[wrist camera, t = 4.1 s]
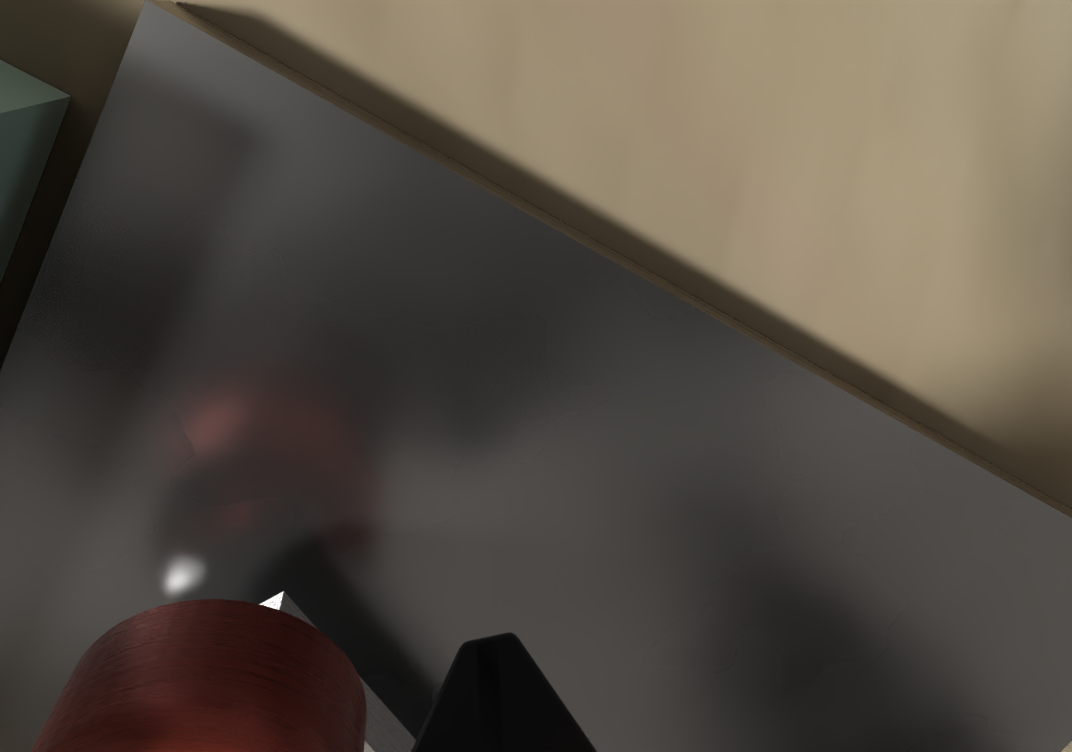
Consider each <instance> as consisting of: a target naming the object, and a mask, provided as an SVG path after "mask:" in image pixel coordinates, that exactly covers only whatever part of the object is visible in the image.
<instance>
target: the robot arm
mask: <svg viewBox="0 0 1072 752" xmlns="http://www.w3.org/2000/svg"><path fill="white" fill-rule="evenodd" d="M411 752H597V751H596V749H595V748H594V746H593V745H592V743H591V742H590V740H589V739H588V738H587V736H586V735H585V733H584V732H583V730H582V729H581V727H580V726H579V724H578V723H577V722H576V720H575V719H574V717H573V716H572V714H571V713H570V711H569V710H568V709H567V707H566V706H565V704H564V703H563V701H562V700H561V698H560V697H559V696H558V694H557V693H556V691H555V690H554V688H553V687H552V685H551V684H550V682H549V681H548V680H547V678H546V677H545V675H544V674H543V672H542V671H541V669H540V668H539V667H538V665H537V664H536V662H535V661H534V659H533V658H532V656H531V655H530V654H529V652H528V651H527V649H526V648H525V646H524V645H523V643H522V642H521V640H520V639H519V638H518V637H517V636H516V635H515V634H514V633H511V632H507V633H503V634H498V635H493V636H488V637H484V638H479V639H474V640H470V641H467V642H465V643H463V644H462V645H461V646H460V648H459V650H458V652H457V654H456V656H455V658H454V661H453V663H452V665H451V667H450V669H449V671H448V673H447V676H446V678H445V680H444V682H443V684H442V686H441V688H440V691H439V693H438V695H437V697H436V699H435V701H434V703H433V706H432V708H431V710H430V712H429V714H428V716H427V718H426V721H425V723H424V725H423V727H422V729H421V731H420V733H419V736H418V738H417V740H416V742H415V744H414V746H413V748H412V751H411Z"/></svg>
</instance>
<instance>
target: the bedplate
mask: <svg viewBox="0 0 1072 752" xmlns="http://www.w3.org/2000/svg"><path fill="white" fill-rule="evenodd" d="M283 591H284V592H285V593H286V594H287V595H288V596H289V598H290V599H291V600H292V601H293V602H294V603H295V604H296V605H297V607H298V608H299V609H300V610H301V611H302V612H303V613H304V614H305V616H306V617H307V618H308V619H309V620H310V621H311V622H312V623H313V625H314V626H315V627H316V628H317V629H318V630H319V631H321V632H322V633H323V634H325V635H326V636H327V637H329V638H330V639H331V640H332V641H333V642H334V643H335V644H336V645H337V646H338V647H339V648H340V649H341V650H342V651H343V652H344V653H345V655H346V656H347V657H348V659H349V660H350V661H351V663H352V664H353V666H354V668H355V670H356V671H357V673H358V675H359V676H360V677H361V679H362V680H363V681H364V682H365V683H366V684H367V685H368V686H369V688H370V689H371V690H372V691H373V692H374V693H375V694H376V695H377V697H378V698H379V699H380V700H381V701H382V702H383V703H384V704H385V706H386V707H387V708H388V709H389V710H390V711H391V712H392V713H393V715H394V716H395V717H396V718H397V719H398V720H399V721H400V722H401V724H402V725H403V726H404V727H405V728H406V729H407V730H408V731H409V733H410V734H411V735H412V736H413V737H414V738H415V739H416V740H417V738H418V736H419V733H420V731H421V729H422V727H423V725H424V723H425V721H426V718H427V716H428V714H429V712H430V710H431V708H432V706H433V703H434V701H435V699H436V697H437V695H438V693H439V691H440V688H441V686H442V684H443V682H444V680H445V678H446V676H447V673H448V671H449V669H450V667H451V665H452V663H453V661H454V658H455V656H456V654H457V652H458V650H459V648H460V646H461V645H462V644H463V643H465V642H467V641H470V640H474V639H479V638H484V637H488V636H493V635H498V634H503V633H507V632H511V633H514V634H515V635H516V636H517V637H518V638H519V639H520V640H521V642H522V643H523V645H524V646H525V648H526V649H527V651H528V652H529V654H530V655H531V656H532V658H533V659H534V661H535V662H536V664H537V665H538V667H539V668H540V669H541V671H542V672H543V674H544V675H545V677H546V678H547V680H548V681H549V682H550V684H551V685H552V687H553V688H554V690H555V691H556V693H557V694H558V696H559V697H560V698H561V700H562V701H563V703H564V704H565V706H566V707H567V709H568V710H569V711H570V713H571V714H572V716H573V717H574V719H575V720H576V722H577V723H578V724H579V726H580V727H581V729H582V730H583V732H584V733H585V735H586V736H587V738H588V739H589V740H590V742H591V743H592V745H593V746H594V748H595V749H596V751H597V752H1061V751H1062V750H1063V749H1064V748H1065V747H1066V746H1067V745H1068V744H1069V743H1070V742H1071V741H1072V509H1070V508H1068V507H1066V506H1064V505H1063V504H1061V503H1059V502H1057V501H1056V500H1054V499H1052V498H1050V497H1048V496H1047V495H1045V494H1043V493H1041V492H1040V491H1038V490H1036V489H1034V488H1033V487H1031V486H1029V485H1027V484H1025V483H1024V482H1022V481H1020V480H1018V479H1017V478H1015V477H1013V476H1011V475H1010V474H1008V473H1006V472H1004V471H1002V470H1001V469H999V468H997V467H995V466H994V465H992V464H990V463H988V462H987V461H985V460H983V459H981V458H979V457H978V456H976V455H974V454H972V453H971V452H969V451H967V450H965V449H963V448H962V447H960V446H958V445H956V444H955V443H953V442H951V441H949V440H948V439H946V438H944V437H942V436H940V435H939V434H937V433H935V432H933V431H932V430H930V429H928V428H926V427H925V426H923V425H921V424H919V423H917V422H916V421H914V420H912V419H910V418H909V417H907V416H905V415H903V414H902V413H900V412H898V411H896V410H894V409H893V408H891V407H889V406H887V405H886V404H884V403H882V402H880V401H878V400H877V399H875V398H873V397H871V396H870V395H868V394H866V393H864V392H863V391H861V390H859V389H857V388H855V387H854V386H852V385H850V384H848V383H847V382H845V381H843V380H841V379H840V378H838V377H836V376H834V375H832V374H831V373H829V372H827V371H825V370H824V369H822V368H820V367H818V366H817V365H815V364H813V363H811V362H809V361H808V360H806V359H804V358H802V357H801V356H799V355H797V354H795V353H793V352H792V351H790V350H788V349H786V348H785V347H783V346H781V345H779V344H778V343H776V342H774V341H772V340H770V339H769V338H767V337H765V336H763V335H762V334H760V333H758V332H756V331H755V330H753V329H751V328H749V327H747V326H746V325H744V324H742V323H740V322H739V321H737V320H735V319H733V318H732V317H730V316H728V315H726V314H724V313H723V312H721V311H719V310H717V309H716V308H714V307H712V306H710V305H708V304H707V303H705V302H703V301H701V300H700V299H698V298H696V297H694V296H693V295H691V294H689V293H687V292H685V291H684V290H682V289H680V288H678V287H677V286H675V285H673V284H671V283H670V282H668V281H666V280H664V279H662V278H661V277H659V276H657V275H655V274H654V273H652V272H650V271H648V270H647V269H645V268H643V267H641V266H639V265H638V264H636V263H634V262H632V261H631V260H629V259H627V258H625V257H623V256H622V255H620V254H618V253H616V252H615V251H613V250H611V249H609V248H608V247H606V246H604V245H602V244H600V243H599V242H597V241H595V240H593V239H592V238H590V237H588V236H586V235H585V234H583V233H581V232H579V231H577V230H576V229H574V228H572V227H570V226H569V225H567V224H565V223H563V222H562V221H560V220H558V219H556V218H554V217H553V216H551V215H549V214H547V213H546V212H544V211H542V210H540V209H538V208H537V207H535V206H533V205H531V204H530V203H528V202H526V201H524V200H523V199H521V198H519V197H517V196H515V195H514V194H512V193H510V192H508V191H507V190H505V189H503V188H501V187H500V186H498V185H496V184H494V183H492V182H491V181H489V180H487V179H485V178H484V177H482V176H480V175H478V174H477V173H475V172H473V171H471V170H469V169H468V168H466V167H464V166H462V165H461V164H459V163H457V162H455V161H453V160H452V159H450V158H448V157H446V156H445V155H443V154H441V153H439V152H438V151H436V150H434V149H432V148H430V147H429V146H427V145H425V144H423V143H422V142H420V141H418V140H416V139H415V138H413V137H411V136H409V135H407V134H406V133H404V132H402V131H400V130H399V129H397V128H395V127H393V126H392V125H390V124H388V123H386V122H384V121H383V120H381V119H379V118H377V117H376V116H374V115H372V114H370V113H368V112H367V111H365V110H363V109H361V108H360V107H358V106H356V105H354V104H353V103H351V102H349V101H347V100H345V99H344V98H342V97H340V96H338V95H337V94H335V93H333V92H331V91H330V90H328V89H326V88H324V87H322V86H321V85H319V84H317V83H315V82H314V81H312V80H310V79H308V78H307V77H305V76H303V75H301V74H299V73H298V72H296V71H294V70H292V69H291V68H289V67H287V66H285V65H283V64H282V63H280V62H278V61H276V60H275V59H273V58H271V57H269V56H268V55H266V54H264V53H262V52H260V51H259V50H257V49H255V48H253V47H252V46H250V45H248V44H246V43H245V42H243V41H241V40H239V39H237V38H236V37H234V36H232V35H230V34H229V33H227V32H225V31H223V30H222V29H220V28H218V27H216V26H214V25H213V24H211V23H209V22H207V21H206V20H204V19H202V18H200V17H198V16H197V15H195V14H193V13H191V12H190V11H188V10H186V9H184V8H183V7H181V6H179V5H177V4H175V3H174V2H172V1H166V0H145V3H144V5H143V8H142V10H141V13H140V16H139V18H138V21H137V23H136V26H135V28H134V31H133V33H132V36H131V39H130V41H129V44H128V46H127V49H126V51H125V54H124V56H123V59H122V62H121V64H120V67H119V69H118V72H117V74H116V77H115V79H114V82H113V85H112V87H111V90H110V92H109V95H108V97H107V100H106V102H105V105H104V108H103V110H102V113H101V115H100V118H99V120H98V123H97V125H96V128H95V131H94V133H93V136H92V138H91V141H90V143H89V146H88V148H87V151H86V154H85V156H84V159H83V161H82V164H81V166H80V169H79V171H78V174H77V177H76V179H75V182H74V184H73V187H72V189H71V192H70V194H69V197H68V200H67V202H66V205H65V207H64V210H63V212H62V215H61V217H60V220H59V223H58V225H57V228H56V230H55V233H54V235H53V238H52V240H51V243H50V246H49V248H48V251H47V253H46V256H45V258H44V261H43V263H42V266H41V269H40V271H39V274H38V276H37V279H36V281H35V284H34V286H33V289H32V292H31V294H30V297H29V299H28V302H27V304H26V307H25V309H24V312H23V315H22V317H21V320H20V322H19V325H18V327H17V330H16V332H15V335H14V338H13V340H12V343H11V345H10V348H9V350H8V353H7V355H6V358H5V361H4V363H3V366H2V368H1V371H0V752H31V750H32V748H33V746H34V744H35V742H36V740H37V738H38V736H39V734H40V733H41V731H42V729H43V727H44V725H45V723H46V721H47V719H48V717H49V716H50V714H51V712H52V710H53V708H54V706H55V704H56V702H57V700H58V699H59V697H60V695H61V693H62V691H63V689H64V687H65V685H66V683H67V681H68V680H69V678H70V676H71V674H72V672H73V670H74V668H75V667H76V665H77V664H78V662H79V660H80V659H81V657H82V655H83V654H84V653H85V652H86V651H87V650H88V649H89V647H90V646H91V645H92V644H93V643H94V642H95V641H96V640H97V639H98V638H100V637H101V636H102V635H103V634H104V633H105V632H107V631H108V630H110V629H111V628H113V627H114V626H116V625H117V624H119V623H120V622H122V621H124V620H126V619H128V618H130V617H132V616H134V615H136V614H139V613H141V612H144V611H147V610H150V609H152V608H155V607H158V606H162V605H167V604H171V603H176V602H181V601H190V600H199V599H226V600H237V601H245V602H250V603H255V604H261V603H263V602H265V601H267V600H268V599H270V598H272V597H274V596H276V595H277V594H279V593H281V592H283Z"/></svg>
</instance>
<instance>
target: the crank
mask: <svg viewBox="0 0 1072 752" xmlns="http://www.w3.org/2000/svg"><path fill="white" fill-rule="evenodd" d="M415 742H416V739H415V738H414V737H413V736H412V735H411V734H410V733H409V731H408V730H407V729H406V728H405V727H404V726H403V725H402V724H401V722H400V721H399V720H398V719H397V718H396V717H395V716H394V715H393V713H392V712H391V711H390V710H389V709H388V708H387V707H386V706H385V704H384V703H383V702H382V701H381V700H380V699H379V698H378V697H377V695H376V694H375V693H374V692H373V691H372V690H371V689H370V688H369V686H368V685H367V684H366V683H365V682H364V681H363V680H362V679H361V677H360V676H359V675H358V673H357V671H356V670H355V668H354V666H353V664H352V663H351V661H350V660H349V659H348V657H347V656H346V655H345V653H344V652H343V651H342V650H341V649H340V648H339V647H338V646H337V645H336V644H335V643H334V642H333V641H332V640H331V639H330V638H329V637H327V636H326V635H325V634H323V633H322V632H321V631H319V630H318V629H317V628H316V627H315V626H314V625H313V623H312V622H311V621H310V620H309V619H308V618H307V617H306V616H305V614H304V613H303V612H302V611H301V610H300V609H299V608H298V607H297V605H296V604H295V603H294V602H293V601H292V600H291V599H290V598H289V596H288V595H287V594H286V593H285V592H284V591H283V592H281V593H279V594H277V595H276V596H274V597H272V598H270V599H268V600H267V601H265V602H263V603H261V604H255V603H250V602H245V601H237V600H226V599H199V600H190V601H181V602H176V603H171V604H167V605H162V606H158V607H155V608H152V609H150V610H147V611H144V612H141V613H139V614H136V615H134V616H132V617H130V618H128V619H126V620H124V621H122V622H120V623H119V624H117V625H116V626H114V627H113V628H111V629H110V630H108V631H107V632H105V633H104V634H103V635H102V636H101V637H100V638H98V639H97V640H96V641H95V642H94V643H93V644H92V645H91V646H90V647H89V649H88V650H87V651H86V652H85V653H84V654H83V655H82V657H81V659H80V660H79V662H78V664H77V665H76V667H75V668H74V670H73V672H72V674H71V676H70V678H69V680H68V681H67V683H66V685H65V687H64V689H63V691H62V693H61V695H60V697H59V699H58V700H57V702H56V704H55V706H54V708H53V710H52V712H51V714H50V716H49V717H48V719H47V721H46V723H45V725H44V727H43V729H42V731H41V733H40V734H39V736H38V738H37V740H36V742H35V744H34V746H33V748H32V750H31V752H411V751H412V748H413V746H414V744H415Z"/></svg>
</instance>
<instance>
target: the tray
mask: <svg viewBox="0 0 1072 752" xmlns="http://www.w3.org/2000/svg"><path fill="white" fill-rule="evenodd" d="M70 99H71V96H70V95H68V94H66V93H64V92H62V91H60V90H58V89H56V88H54V87H52V86H51V85H49V84H47V83H45V82H43V81H41V80H39V79H37V78H35V77H33V76H31V75H29V74H27V73H25V72H23V71H21V70H19V69H17V68H15V67H13V66H11V65H9V64H7V63H6V62H4V61H2V60H0V284H1V281H2V279H3V276H4V273H5V271H6V268H7V266H8V263H9V260H10V258H11V255H12V252H13V250H14V247H15V244H16V242H17V239H18V236H19V234H20V231H21V228H22V226H23V223H24V221H25V218H26V215H27V213H28V210H29V207H30V205H31V202H32V199H33V197H34V194H35V191H36V189H37V186H38V183H39V181H40V178H41V175H42V173H43V170H44V168H45V165H46V162H47V160H48V157H49V154H50V152H51V149H52V146H53V144H54V141H55V138H56V136H57V133H58V130H59V128H60V125H61V123H62V120H63V117H64V115H65V112H66V109H67V107H68V104H69V101H70Z"/></svg>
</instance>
